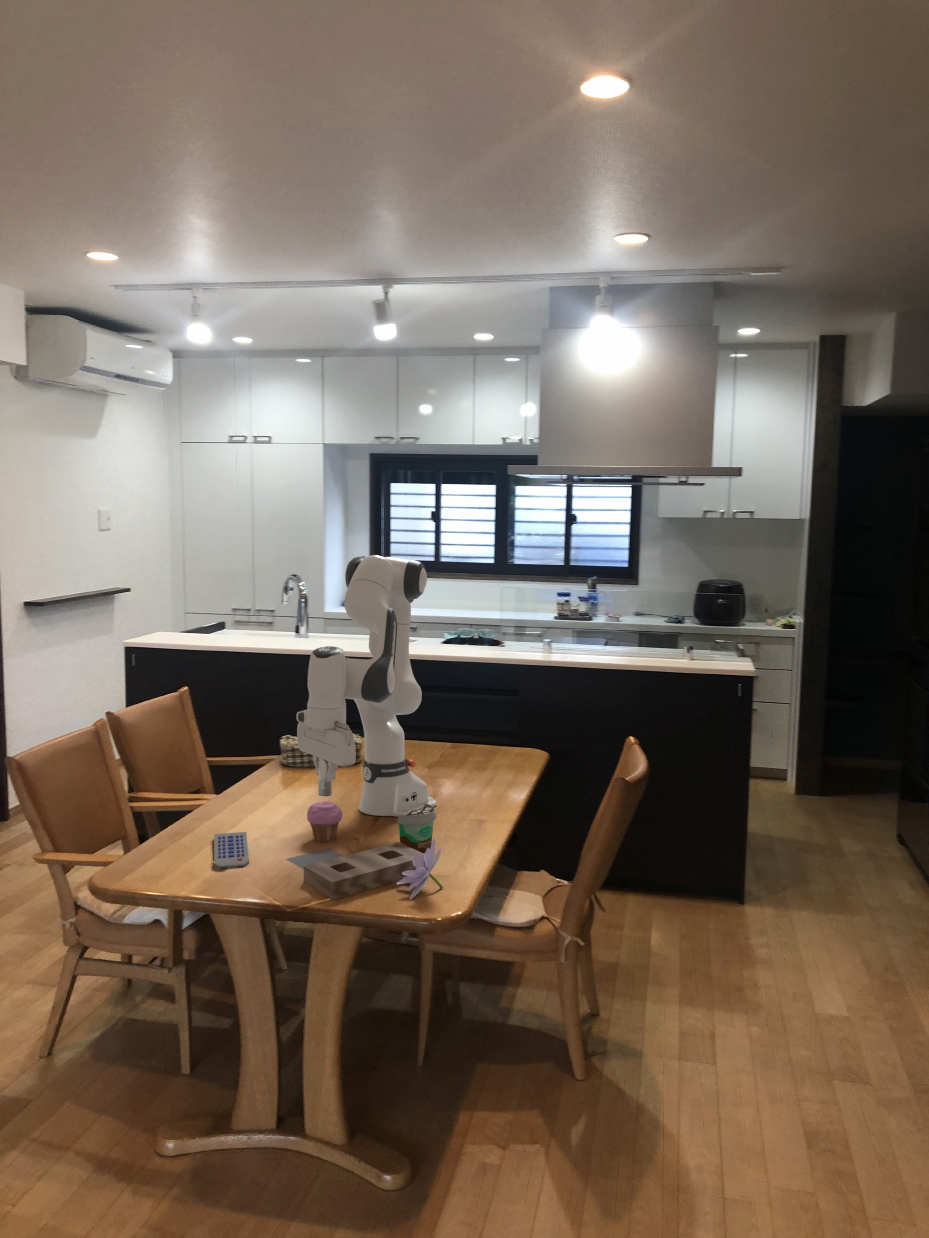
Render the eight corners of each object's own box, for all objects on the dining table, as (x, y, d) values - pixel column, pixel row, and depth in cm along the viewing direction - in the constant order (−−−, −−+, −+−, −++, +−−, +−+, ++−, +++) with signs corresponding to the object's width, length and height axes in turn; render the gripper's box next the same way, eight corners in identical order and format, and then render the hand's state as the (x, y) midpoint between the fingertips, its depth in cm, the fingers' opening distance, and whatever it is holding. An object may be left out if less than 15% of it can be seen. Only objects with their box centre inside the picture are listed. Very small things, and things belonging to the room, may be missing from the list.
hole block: (397, 858, 230) (398, 841, 230) (428, 872, 221) (428, 855, 221) (303, 883, 214) (303, 866, 213) (332, 900, 204) (332, 882, 204)
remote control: (246, 839, 244) (246, 830, 244) (249, 869, 222) (249, 860, 222) (214, 841, 242) (214, 832, 242) (214, 872, 220) (213, 863, 220)
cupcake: (331, 847, 237) (331, 808, 236) (300, 843, 240) (300, 804, 239) (347, 836, 245) (347, 798, 244) (317, 832, 248) (317, 794, 247)
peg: (327, 792, 223) (327, 749, 222) (334, 795, 220) (334, 752, 220) (316, 794, 221) (316, 751, 220) (322, 797, 219) (323, 754, 218)
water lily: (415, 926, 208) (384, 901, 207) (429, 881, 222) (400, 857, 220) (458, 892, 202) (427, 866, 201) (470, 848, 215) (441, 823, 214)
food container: (417, 859, 229) (418, 819, 228) (396, 854, 233) (397, 814, 232) (445, 845, 240) (446, 806, 239) (425, 840, 243) (425, 802, 242)
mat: (329, 849, 235) (329, 848, 235) (356, 863, 226) (356, 862, 226) (286, 860, 228) (286, 858, 228) (312, 875, 218) (312, 873, 218)
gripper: (363, 724, 213) (362, 785, 214) (315, 709, 229) (315, 766, 230) (339, 727, 209) (338, 789, 210) (292, 712, 225) (291, 769, 226)
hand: (325, 777), depth 220 cm, fingers closed on peg, 3 cm apart
